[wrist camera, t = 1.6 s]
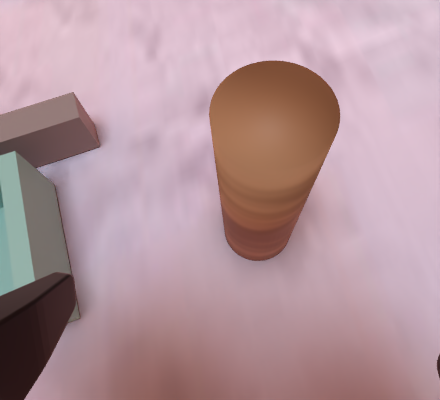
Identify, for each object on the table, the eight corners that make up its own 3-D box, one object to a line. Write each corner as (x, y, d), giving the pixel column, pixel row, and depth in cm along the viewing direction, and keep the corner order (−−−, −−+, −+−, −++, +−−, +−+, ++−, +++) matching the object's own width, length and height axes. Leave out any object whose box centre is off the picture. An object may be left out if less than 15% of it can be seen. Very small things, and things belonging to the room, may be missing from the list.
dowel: (266, 273, 21) (296, 194, 10) (211, 236, 22) (183, 127, 11) (302, 220, 22) (363, 95, 11) (248, 187, 23) (255, 43, 12)
